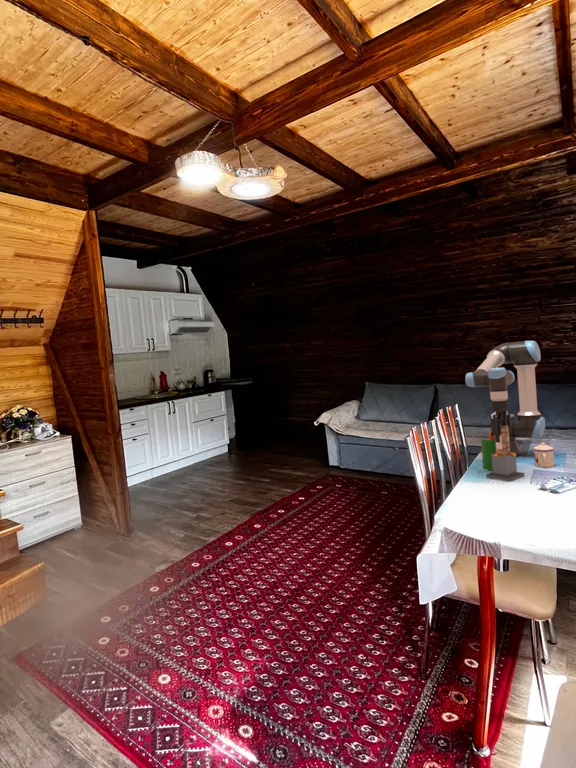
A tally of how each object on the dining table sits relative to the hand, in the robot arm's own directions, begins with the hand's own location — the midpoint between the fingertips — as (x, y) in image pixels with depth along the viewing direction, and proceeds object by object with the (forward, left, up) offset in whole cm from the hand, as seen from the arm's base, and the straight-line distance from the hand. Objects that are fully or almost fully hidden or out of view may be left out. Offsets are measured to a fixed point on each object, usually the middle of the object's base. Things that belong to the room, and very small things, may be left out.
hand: (502, 447), depth 210 cm
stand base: (0, 0, -14) cm, 14 cm away
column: (0, 0, -12) cm, 12 cm away
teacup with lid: (-29, +3, -14) cm, 33 cm away
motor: (-10, -12, -14) cm, 22 cm away
